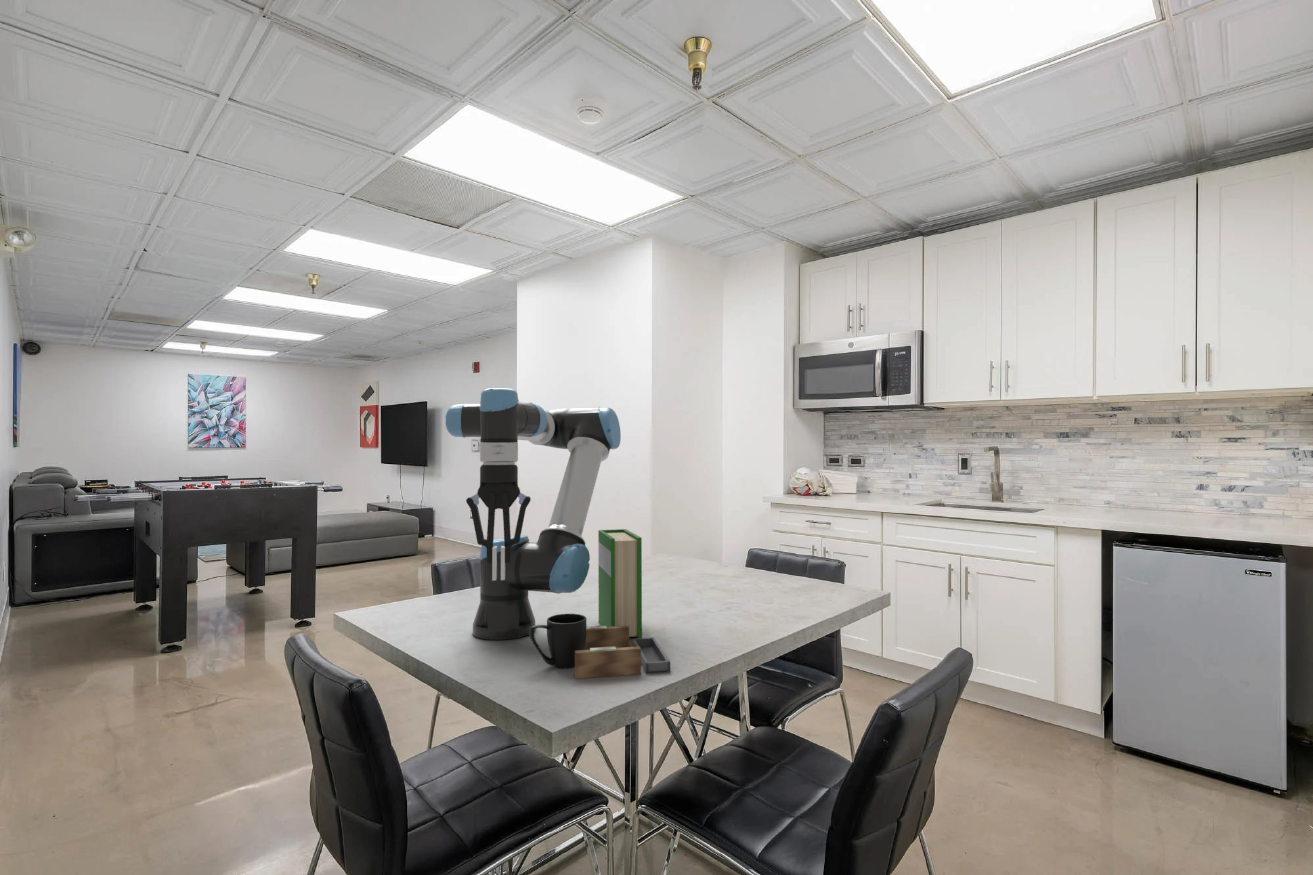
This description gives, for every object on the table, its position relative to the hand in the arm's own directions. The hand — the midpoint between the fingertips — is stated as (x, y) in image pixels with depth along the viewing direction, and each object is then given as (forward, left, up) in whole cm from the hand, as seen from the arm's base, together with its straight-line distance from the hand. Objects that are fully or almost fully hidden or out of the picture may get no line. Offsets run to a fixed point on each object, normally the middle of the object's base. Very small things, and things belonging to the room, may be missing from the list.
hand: (498, 578), depth 128 cm
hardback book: (+28, +23, -19) cm, 41 cm away
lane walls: (+22, 0, -18) cm, 28 cm away
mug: (+12, 0, -19) cm, 22 cm away
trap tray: (+32, 0, -18) cm, 36 cm away
